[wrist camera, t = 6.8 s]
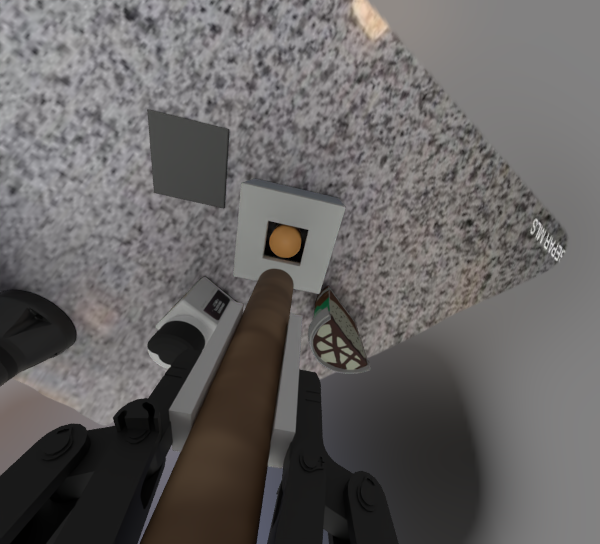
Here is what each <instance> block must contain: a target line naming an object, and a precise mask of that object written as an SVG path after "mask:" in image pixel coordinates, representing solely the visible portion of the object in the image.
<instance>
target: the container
mask: <svg viewBox="0 0 600 544" xmlns="http://www.w3.org/2000/svg"><path fill="white" fill-rule="evenodd" d="M231 301H233V302H236V301H234V300H233V299H232V298H231V297H230V296H228V295H227V294H226V293H225V292H223V291H222V290H221V289H220V288H219V287H217V286H216V285H215V284H214V283H212V282H211V281H210V280H209V279H207V278H206V277H202V278H201V279H200V280H199V281H198V282H197V283H196V284H195V285H194V286H193V287H192V288H191V289H190V290H189V291H188V292H187V293H186V294H185V295H184V296H183V297H182V298H181V299H180V300H179V301H178V302H177V303H176V304H175V306H174V307H173V308H172V309H171V310H170V311H169V312H168V313H167V314H166V315H165V316H164V317H163V318H162V319H161V320H160V322H159V323H158V324H157V325H156V329H157V330H158V331H157V333H156V334H155V335H154V336H153V337H152V338H151V339H150V341H149V342H148V346H147V347H148V353H149V355H150V357H151V358H152V360H153V361H154V362H155V363H157V364H158V365H160V366H162V367H164V368H166V369H169V368H170V366H171V364H172V363H173V362H174V360H175V359H176V357H177V356H178V355H179V354H181V353H182V352H183V351H185V350H186V349H192V350H197V351H202V350H203V348H204V347H205V346H206V344H207V342H208V341H209V339H210V337H211V335H212V334H213V332H214V330H215V329H216V327H217V325H218V323H219V322H220V320H221V318H222V316H223V315H224V313H225V311H226V309H227V308H228V306H229V304H230V302H231Z"/></svg>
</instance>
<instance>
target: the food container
mask: <svg viewBox="0 0 600 544" xmlns="http://www.w3.org/2000/svg"><path fill="white" fill-rule="evenodd" d="M308 341H309V344H310V348H311V351H312V353H313V355H314V356H315V358H316V359H317V360H318V362H319V363H320V364H322V365H323V366H324V367H326V368H328V369H330V370H332V371H335V372H340V373H346V374H353V373H354V374H355V373H361V372H365V371H369V370H370V362H369V360H368V359H367V356H366V353H365V350H364V347H363V344H362V341H361V338H360V335H359V332H358V328H357V325H356V322H355V321H354V319H353V318H352V317H351V315H350V314H349V312H348V311H347V310H346V308H345V307H344V306H343V304H342V303H341V302H340V300H339V299H338V298H337V296H336V295H335V294H334V292H333V291H332V290H331V288H330V287H329V286H327V287H326V288H324V289H323V290H322V291H321V292H320V294H319V295H318V297H317V299H316V302H315V311H314V319H313V320H312V322H311V324H310V326H309V329H308Z"/></svg>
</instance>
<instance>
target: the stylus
mask: <svg viewBox="0 0 600 544" xmlns="http://www.w3.org/2000/svg"><path fill="white" fill-rule="evenodd" d="M293 287H294V283H293V280H292V278H291V276H290V275H289V274H288V273H287V272H285V271H283V270H281V269H268V270H266V271H264V272H263V273H262V274H261V275H260V277H259V279H258V281H257V284H256V286H255V288H254V290H253V293H252V295H251V297H250V299H249V301H248V304H247V306H246V308H245V310H244V313H243V315H242V317H241V319H240V321H239V324H238V326H237V328H236V330H235V333H234V335H233V337H232V339H231V342H230V344H229V346H228V348H227V350H226V353H225V355H224V357H223V359H222V362H221V364H220V366H219V368H218V370H217V373H216V375H215V377H214V379H213V382H212V384H211V386H210V388H209V390H208V393H207V395H206V397H205V399H204V402H203V404H202V406H201V408H200V410H199V413H198V415H197V417H196V419H195V422H194V424H193V426H192V428H191V430H190V433H189V435H188V437H187V439H186V442H185V444H184V446H183V448H182V450H181V453H180V455H179V457H178V460H177V462H176V464H175V466H174V468H173V470H172V473H171V475H170V477H169V480H168V482H167V484H166V486H165V488H164V490H163V493H162V495H161V497H160V499H159V502H158V504H157V506H156V508H155V510H154V513H153V515H152V517H151V519H150V522H149V524H148V526H147V528H146V530H145V533H144V535H143V537H142V539H141V542H140V544H256V543H257V536H258V529H259V521H260V515H261V508H262V501H263V495H264V488H265V480H266V474H267V467H268V460H269V453H270V446H271V445H270V441H271V434H272V427H273V421H274V414H275V407H276V400H277V394H278V387H279V380H280V373H281V367H282V360H283V353H284V346H285V339H286V333H287V326H288V321H289V315H290V308H291V301H292V294H293Z"/></svg>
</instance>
